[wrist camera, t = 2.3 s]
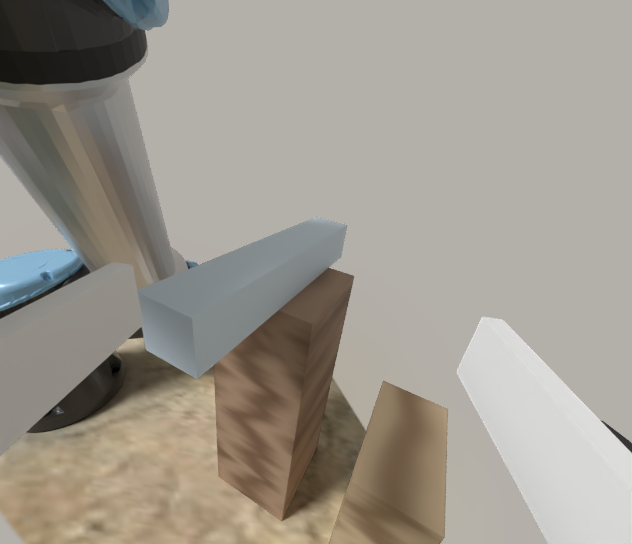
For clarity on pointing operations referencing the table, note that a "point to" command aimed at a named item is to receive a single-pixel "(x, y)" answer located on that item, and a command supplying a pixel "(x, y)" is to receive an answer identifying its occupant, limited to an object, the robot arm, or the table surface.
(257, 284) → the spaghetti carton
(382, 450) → the oak step
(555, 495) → the robot arm
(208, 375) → the table surface
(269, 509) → the walnut block
